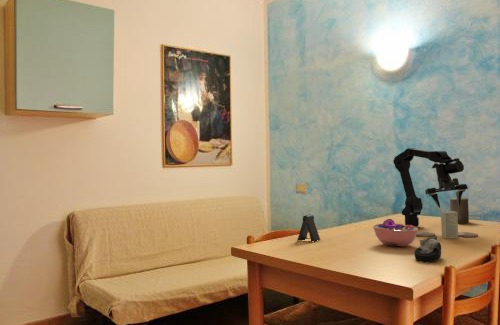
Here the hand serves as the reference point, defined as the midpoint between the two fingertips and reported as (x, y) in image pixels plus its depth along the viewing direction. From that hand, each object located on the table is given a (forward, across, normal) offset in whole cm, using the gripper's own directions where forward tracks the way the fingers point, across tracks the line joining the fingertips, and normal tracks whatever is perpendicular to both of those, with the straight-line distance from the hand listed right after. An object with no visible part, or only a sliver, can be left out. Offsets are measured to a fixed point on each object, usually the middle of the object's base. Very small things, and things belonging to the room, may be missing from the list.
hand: (449, 206), depth 212 cm
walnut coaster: (+14, +3, -4) cm, 15 cm away
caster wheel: (+20, -25, -54) cm, 62 cm away
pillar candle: (+9, +13, +35) cm, 39 cm away
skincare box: (+14, -5, -10) cm, 18 cm away
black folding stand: (+8, -70, -19) cm, 73 cm away
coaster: (+12, -16, -4) cm, 20 cm away
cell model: (+14, -33, -29) cm, 46 cm away
